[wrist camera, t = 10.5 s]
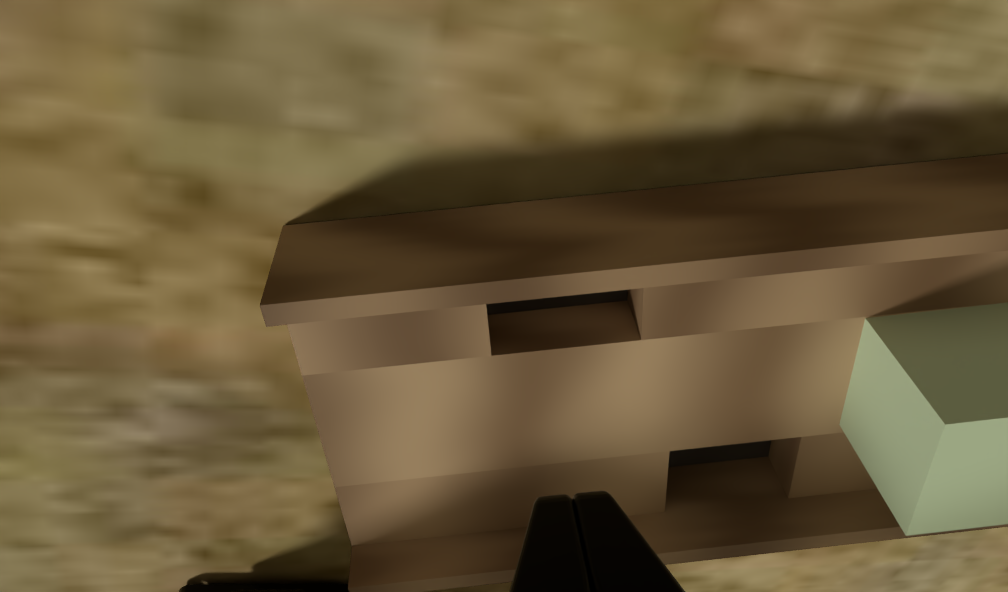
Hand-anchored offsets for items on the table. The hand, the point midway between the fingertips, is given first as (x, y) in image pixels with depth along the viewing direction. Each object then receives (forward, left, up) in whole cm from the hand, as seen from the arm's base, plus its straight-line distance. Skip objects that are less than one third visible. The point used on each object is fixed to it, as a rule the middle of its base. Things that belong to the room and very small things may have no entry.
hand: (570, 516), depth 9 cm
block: (-6, -13, -10) cm, 17 cm away
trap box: (-7, -9, -12) cm, 16 cm away
